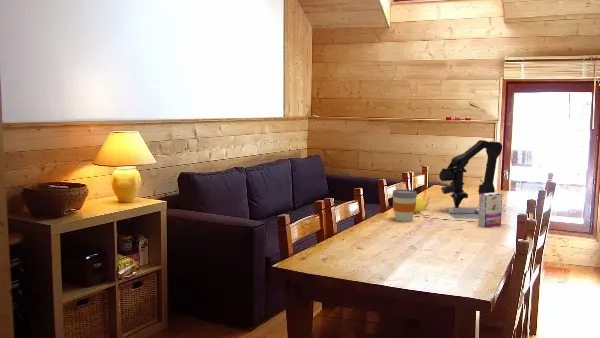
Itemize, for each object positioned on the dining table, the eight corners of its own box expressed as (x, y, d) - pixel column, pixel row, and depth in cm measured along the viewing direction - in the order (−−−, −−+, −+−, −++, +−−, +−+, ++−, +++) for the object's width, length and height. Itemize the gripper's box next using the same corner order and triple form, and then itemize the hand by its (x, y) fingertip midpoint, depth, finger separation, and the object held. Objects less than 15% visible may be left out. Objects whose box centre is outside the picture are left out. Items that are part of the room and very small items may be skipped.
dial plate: (479, 213, 319) (479, 211, 319) (493, 221, 299) (493, 218, 299) (443, 213, 318) (443, 211, 318) (455, 221, 298) (455, 218, 298)
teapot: (431, 212, 321) (432, 195, 320) (413, 214, 314) (414, 196, 313) (414, 208, 333) (415, 191, 332) (396, 210, 326) (397, 193, 325)
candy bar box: (493, 223, 294) (495, 191, 292) (501, 225, 289) (503, 193, 287) (477, 225, 289) (478, 193, 287) (484, 227, 284) (486, 194, 282)
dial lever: (480, 211, 315) (481, 206, 315) (484, 213, 310) (484, 208, 310) (447, 211, 314) (448, 206, 314) (450, 213, 309) (450, 208, 309)
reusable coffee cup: (400, 216, 309) (401, 188, 308) (420, 220, 300) (421, 191, 299) (386, 219, 301) (387, 191, 299) (406, 223, 292) (407, 194, 290)
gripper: (438, 178, 325) (436, 205, 327) (448, 182, 306) (447, 211, 308) (457, 178, 325) (456, 205, 327) (469, 182, 307) (467, 211, 309)
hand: (456, 208), depth 318 cm, fingers closed
